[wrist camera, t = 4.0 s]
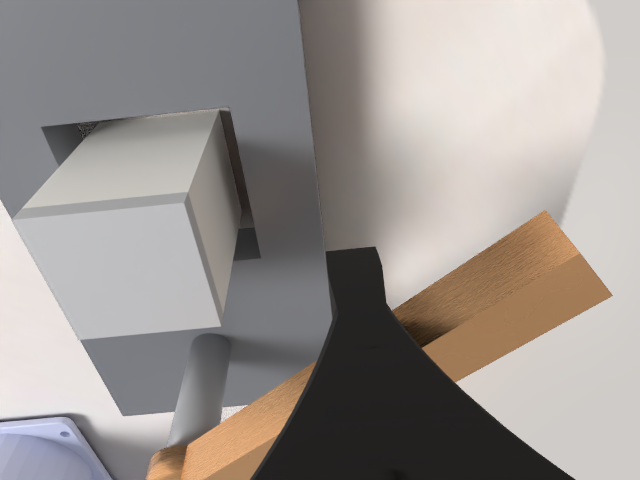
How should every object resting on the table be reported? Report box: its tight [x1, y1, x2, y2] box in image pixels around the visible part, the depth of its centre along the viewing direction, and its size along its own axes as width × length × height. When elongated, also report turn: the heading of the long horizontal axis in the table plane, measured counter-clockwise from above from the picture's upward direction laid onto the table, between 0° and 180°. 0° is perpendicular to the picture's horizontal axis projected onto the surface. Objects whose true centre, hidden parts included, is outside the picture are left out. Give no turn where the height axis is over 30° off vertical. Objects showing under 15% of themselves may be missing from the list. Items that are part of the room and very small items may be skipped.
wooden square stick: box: [145, 210, 612, 480], centre depth 12 cm, size 14×2×2 cm, turn 133°
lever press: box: [0, 0, 333, 448], centre depth 15 cm, size 18×10×7 cm, turn 5°
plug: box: [11, 110, 242, 340], centre depth 14 cm, size 4×4×6 cm
